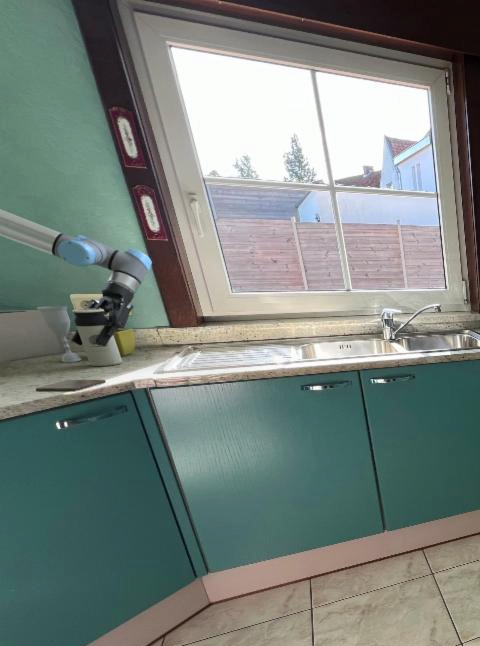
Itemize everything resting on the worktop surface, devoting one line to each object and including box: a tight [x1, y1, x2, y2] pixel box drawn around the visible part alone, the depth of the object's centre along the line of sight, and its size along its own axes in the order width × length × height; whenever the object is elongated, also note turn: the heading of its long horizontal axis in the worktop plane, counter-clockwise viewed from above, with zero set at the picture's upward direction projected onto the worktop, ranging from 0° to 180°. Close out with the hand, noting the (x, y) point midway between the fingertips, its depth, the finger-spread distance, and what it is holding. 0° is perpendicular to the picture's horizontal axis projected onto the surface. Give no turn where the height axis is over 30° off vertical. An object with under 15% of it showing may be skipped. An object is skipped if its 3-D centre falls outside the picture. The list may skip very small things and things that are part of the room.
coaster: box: [35, 379, 106, 392], centre depth 141 cm, size 10×10×1 cm
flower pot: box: [113, 328, 136, 357], centre depth 179 cm, size 9×9×9 cm
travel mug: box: [71, 308, 123, 367], centre depth 164 cm, size 8×8×18 cm
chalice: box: [36, 305, 83, 363], centre depth 168 cm, size 7×7×18 cm
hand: (88, 343), depth 161 cm, fingers closed on travel mug, 8 cm apart
